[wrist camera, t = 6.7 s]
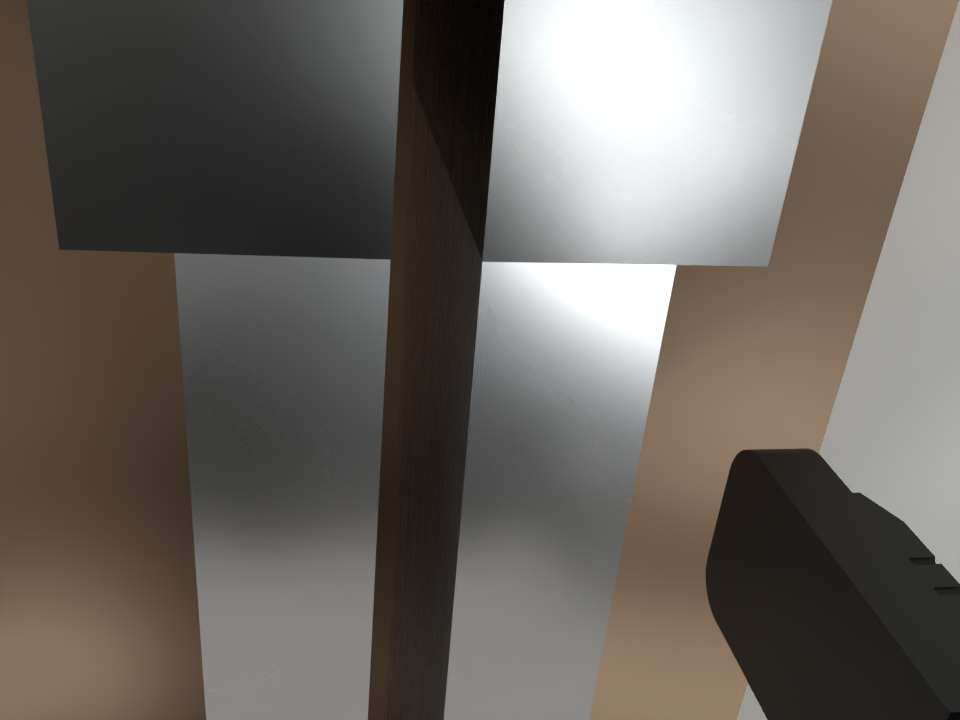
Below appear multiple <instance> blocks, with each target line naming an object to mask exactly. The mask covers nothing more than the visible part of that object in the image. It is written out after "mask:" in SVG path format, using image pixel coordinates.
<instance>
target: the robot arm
mask: <svg viewBox="0 0 960 720" xmlns="http://www.w3.org/2000/svg"><path fill="white" fill-rule="evenodd" d="M706 590H707V596H708V601H709V605H710V609H711V611H712V614H713V617H714V619H715V621H716V623H717V625H718V627H719V628H720V630H721V632H722V634H723V636H724V638H725V640H726V642H727V644H728V645H729V647H730V649H731V651H732V653H733V655H734V657H735V659H736V661H737V662H738V664H739V666H740V668H741V670H742V672H743V674H744V676H745V678H746V679H747V681H748V683H749V685H750V687H751V689H752V691H753V693H754V695H755V696H756V698H757V700H758V702H759V704H760V706H761V708H762V710H763V712H764V714H765V715H766V717H767V719H768V720H960V584H959V583H958V582H957V581H956V580H955V579H954V577H953V576H952V575H951V574H950V573H949V572H948V571H947V570H946V568H945V567H944V566H943V565H942V564H936V563H935V556H934V555H933V554H932V553H931V552H930V551H929V549H928V548H927V547H926V546H925V545H924V544H923V543H922V542H921V541H920V539H919V538H918V537H917V536H916V535H915V534H914V533H913V532H912V531H911V529H910V528H909V527H908V526H907V525H906V524H905V523H904V522H903V521H902V520H900V519H899V518H897V517H896V516H894V515H893V514H891V513H890V512H888V511H887V510H885V509H884V508H882V507H881V506H879V505H878V504H876V503H875V502H873V501H872V500H870V499H869V498H867V497H866V496H864V495H863V494H861V493H852V492H851V491H850V490H849V488H848V487H847V486H846V485H845V484H844V483H843V481H842V480H841V479H840V478H839V477H838V476H837V474H836V473H835V472H834V471H833V470H832V469H831V467H830V466H829V465H828V464H827V463H826V462H825V460H824V459H823V458H822V457H821V456H820V455H819V454H818V453H817V452H816V451H814V450H812V449H809V448H800V449H749V450H742V451H740V452H739V453H738V454H737V455H736V456H735V458H734V460H733V462H732V464H731V467H730V470H729V474H728V478H727V482H726V486H725V490H724V494H723V498H722V502H721V506H720V510H719V514H718V518H717V522H716V526H715V530H714V534H713V538H712V542H711V546H710V550H709V554H708V558H707V563H706Z"/></svg>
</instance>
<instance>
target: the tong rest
mask: <svg viewBox="0 0 960 720" xmlns="http://www.w3.org/2000/svg"><path fill="white" fill-rule="evenodd" d="M958 1H959V0H833V1H832V5H831V9H830V13H829V17H828V22H827V26H826V30H825V34H824V38H823V42H822V46H821V50H820V55H819V59H818V63H817V67H816V71H815V75H814V79H813V83H812V88H811V92H810V96H809V100H808V104H807V108H806V112H805V116H804V121H803V125H802V129H801V133H800V137H799V141H798V145H797V149H796V154H795V158H794V162H793V166H792V170H791V174H790V178H789V182H788V187H787V191H786V195H785V199H784V203H783V207H782V211H781V215H780V220H779V224H778V228H777V232H776V236H775V240H774V244H773V248H772V253H771V257H770V261H769V265H768V267H764V266H704V265H676V269H675V275H674V280H673V285H672V290H671V295H670V301H669V306H668V311H667V316H666V321H665V327H664V332H663V337H662V342H661V348H660V353H659V358H658V363H657V368H656V374H655V379H654V384H653V389H652V395H651V400H650V405H649V410H648V415H647V421H646V426H645V431H644V436H643V442H642V447H641V452H640V457H639V462H638V468H637V473H636V478H635V483H634V489H633V494H632V499H631V504H630V509H629V515H628V520H627V525H626V530H625V536H624V541H623V546H622V551H621V556H620V562H619V567H618V572H617V577H616V583H615V588H614V593H613V598H612V603H611V609H610V614H609V619H608V624H607V630H606V635H605V640H604V645H603V650H602V656H601V661H600V666H599V671H598V677H597V682H596V687H595V692H594V697H593V703H592V708H591V713H590V718H589V720H736V719H737V716H738V712H739V709H740V706H741V703H742V699H743V696H744V693H745V690H746V686H747V683H748V681H747V679H746V678H745V676H744V674H743V672H742V670H741V668H740V666H739V664H738V662H737V661H736V659H735V657H734V655H733V653H732V651H731V649H730V647H729V645H728V644H727V642H726V640H725V638H724V636H723V634H722V632H721V630H720V628H719V627H718V625H717V623H716V621H715V619H714V617H713V614H712V611H711V609H710V605H709V601H708V596H707V590H706V563H707V558H708V554H709V550H710V546H711V542H712V538H713V534H714V530H715V526H716V522H717V518H718V514H719V510H720V506H721V502H722V498H723V494H724V490H725V486H726V482H727V478H728V474H729V470H730V467H731V464H732V462H733V460H734V458H735V456H736V455H737V454H738V453H739V452H740V451H742V450H749V449H800V448H809V449H812V450H814V451H816V452H817V453H818V454H819V450H820V447H821V444H822V441H823V437H824V434H825V431H826V428H827V424H828V421H829V418H830V415H831V412H832V408H833V405H834V402H835V399H836V395H837V392H838V389H839V386H840V382H841V379H842V376H843V373H844V369H845V366H846V363H847V360H848V357H849V353H850V350H851V347H852V344H853V340H854V337H855V334H856V331H857V327H858V324H859V321H860V318H861V314H862V311H863V308H864V305H865V302H866V298H867V295H868V292H869V289H870V285H871V282H872V279H873V276H874V272H875V269H876V266H877V263H878V259H879V256H880V253H881V250H882V247H883V243H884V240H885V237H886V234H887V230H888V227H889V224H890V221H891V217H892V214H893V211H894V208H895V204H896V201H897V198H898V195H899V192H900V188H901V185H902V182H903V179H904V175H905V172H906V169H907V166H908V162H909V159H910V156H911V153H912V149H913V146H914V143H915V140H916V137H917V133H918V130H919V127H920V124H921V120H922V117H923V114H924V111H925V107H926V104H927V101H928V98H929V94H930V91H931V88H932V85H933V82H934V78H935V75H936V72H937V69H938V65H939V62H940V59H941V56H942V52H943V49H944V46H945V43H946V40H947V36H948V33H949V30H950V27H951V23H952V20H953V17H954V14H955V10H956V7H957V4H958ZM415 8H416V0H403V18H402V38H401V58H400V78H399V98H398V119H397V139H396V159H395V179H394V199H393V220H392V240H391V260H390V280H389V300H388V321H387V341H386V361H385V381H384V401H383V422H382V442H381V462H380V482H379V502H378V523H377V543H376V563H375V583H374V603H373V624H372V644H371V664H370V684H369V704H368V720H386V700H387V676H388V653H389V629H390V605H391V581H392V557H393V533H394V509H395V485H396V462H397V438H398V414H399V390H400V366H401V342H402V318H403V295H404V271H405V247H406V223H407V199H408V175H409V151H410V127H411V104H412V80H413V56H414V32H415ZM0 720H206V710H205V695H204V681H203V666H202V652H201V637H200V622H199V608H198V593H197V579H196V564H195V549H194V535H193V520H192V506H191V491H190V476H189V462H188V447H187V433H186V418H185V403H184V389H183V374H182V360H181V345H180V330H179V316H178V301H177V287H176V272H175V257H174V253H154V252H121V251H88V250H59V244H58V236H57V228H56V221H55V213H54V205H53V198H52V190H51V182H50V175H49V167H48V160H47V152H46V144H45V137H44V129H43V121H42V114H41V106H40V98H39V91H38V83H37V76H36V68H35V60H34V53H33V45H32V37H31V30H30V22H29V14H28V7H27V0H0Z"/></svg>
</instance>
